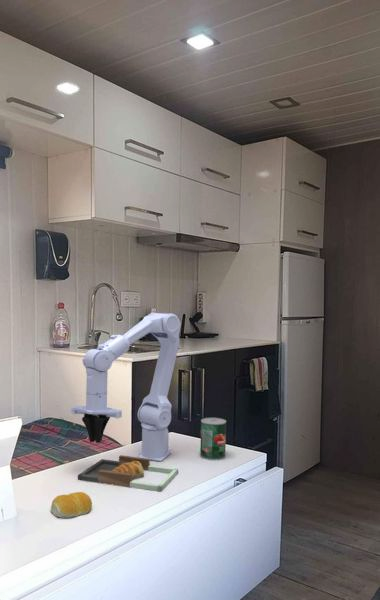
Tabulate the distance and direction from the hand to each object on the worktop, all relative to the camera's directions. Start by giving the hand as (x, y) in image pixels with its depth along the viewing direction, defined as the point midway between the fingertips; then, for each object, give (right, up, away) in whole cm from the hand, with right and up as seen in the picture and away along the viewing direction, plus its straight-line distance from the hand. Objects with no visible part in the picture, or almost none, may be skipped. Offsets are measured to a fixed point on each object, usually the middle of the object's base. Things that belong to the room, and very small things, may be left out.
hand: (95, 441), depth 137 cm
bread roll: (-1, -9, -25) cm, 27 cm away
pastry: (+9, -9, -3) cm, 13 cm away
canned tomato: (+33, -9, +16) cm, 38 cm away
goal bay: (+17, -9, -5) cm, 20 cm away
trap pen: (+1, -8, 0) cm, 9 cm away
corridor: (+8, -9, -3) cm, 12 cm away
